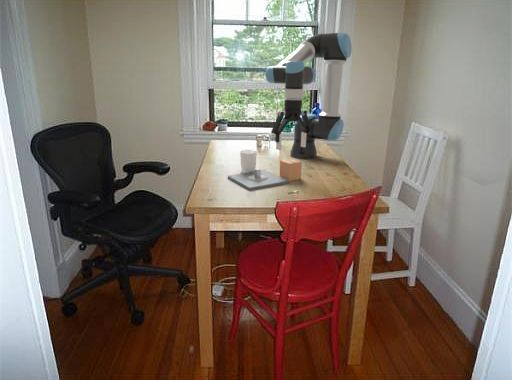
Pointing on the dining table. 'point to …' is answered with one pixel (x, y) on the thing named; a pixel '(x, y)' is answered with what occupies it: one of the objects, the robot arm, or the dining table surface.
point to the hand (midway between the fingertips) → (291, 148)
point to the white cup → (248, 160)
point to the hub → (257, 179)
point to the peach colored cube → (290, 169)
